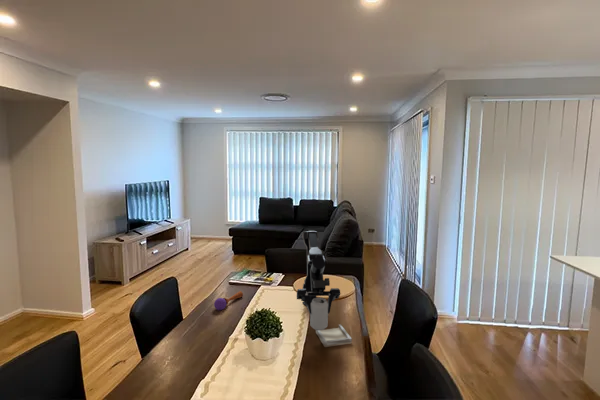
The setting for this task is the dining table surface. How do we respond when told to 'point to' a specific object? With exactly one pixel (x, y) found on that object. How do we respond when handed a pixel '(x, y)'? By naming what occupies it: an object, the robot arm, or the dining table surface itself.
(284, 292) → the dining table surface
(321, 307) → the can
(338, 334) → the rail dock
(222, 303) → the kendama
